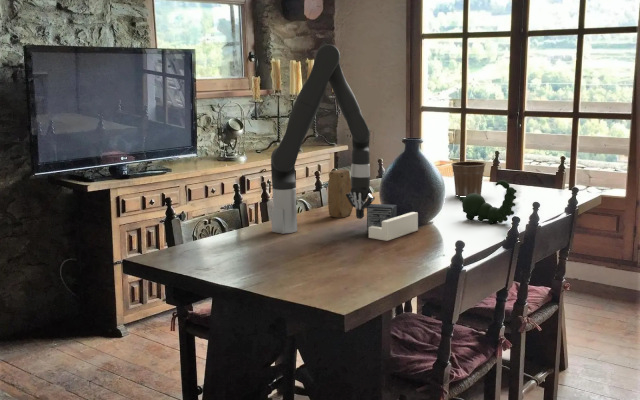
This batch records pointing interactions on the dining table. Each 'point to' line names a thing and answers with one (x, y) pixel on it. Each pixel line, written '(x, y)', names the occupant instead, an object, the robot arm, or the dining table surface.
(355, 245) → the dining table surface
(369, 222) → the small box
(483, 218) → the toy figurine
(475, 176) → the plant pot
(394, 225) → the board
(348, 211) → the block
